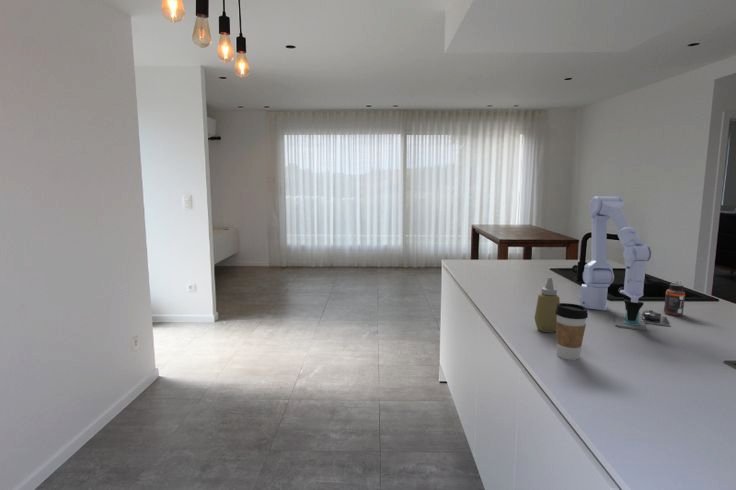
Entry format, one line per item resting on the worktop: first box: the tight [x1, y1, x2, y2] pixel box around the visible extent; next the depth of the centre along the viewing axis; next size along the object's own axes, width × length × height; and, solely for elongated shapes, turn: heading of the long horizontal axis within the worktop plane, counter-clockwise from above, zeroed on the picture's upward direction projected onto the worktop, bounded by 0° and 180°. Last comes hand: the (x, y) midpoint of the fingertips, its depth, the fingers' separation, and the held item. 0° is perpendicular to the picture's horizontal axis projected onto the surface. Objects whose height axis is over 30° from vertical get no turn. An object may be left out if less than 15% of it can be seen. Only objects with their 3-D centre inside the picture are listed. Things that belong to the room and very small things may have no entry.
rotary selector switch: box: [639, 309, 670, 327], centre depth 155 cm, size 10×10×3 cm
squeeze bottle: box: [534, 277, 561, 333], centre depth 143 cm, size 8×8×18 cm
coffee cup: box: [555, 302, 589, 361], centre depth 123 cm, size 8×8×15 cm
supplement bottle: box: [663, 283, 686, 317], centre depth 162 cm, size 6×6×11 cm
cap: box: [624, 309, 641, 326], centre depth 150 cm, size 5×5×5 cm
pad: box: [614, 317, 647, 332], centre depth 150 cm, size 9×9×1 cm
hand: (630, 317), depth 150 cm, fingers open, 7 cm apart
